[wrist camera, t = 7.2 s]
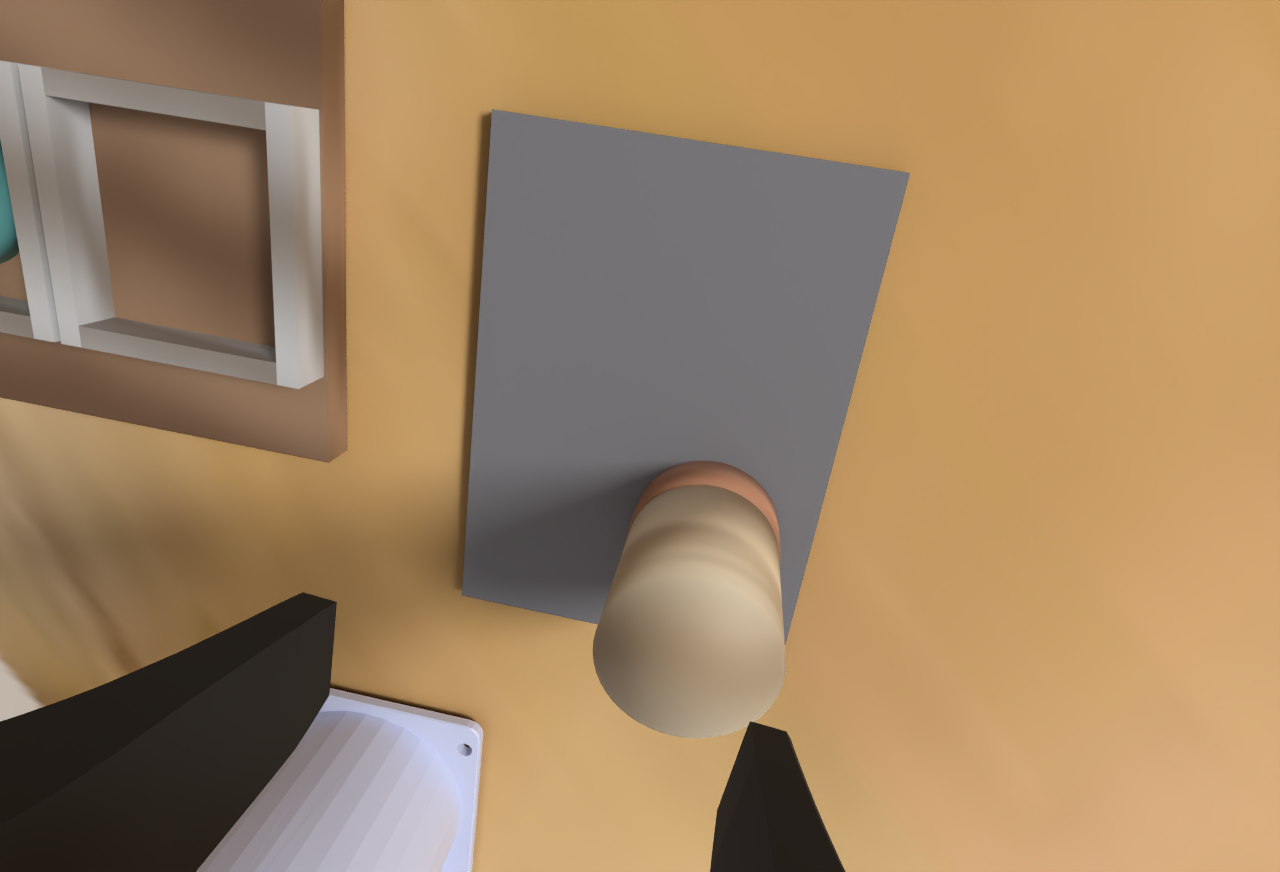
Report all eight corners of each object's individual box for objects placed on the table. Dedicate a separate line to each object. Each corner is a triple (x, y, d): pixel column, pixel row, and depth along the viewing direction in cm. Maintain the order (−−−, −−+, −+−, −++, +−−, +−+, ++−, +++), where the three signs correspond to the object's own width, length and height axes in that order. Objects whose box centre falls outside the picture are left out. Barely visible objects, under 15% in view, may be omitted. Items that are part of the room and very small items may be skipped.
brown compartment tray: (346, 450, 22) (304, 479, 20) (-69, 367, 23) (-148, 387, 21) (344, -4, 17) (289, -26, 15) (-169, -76, 19) (-282, -106, 17)
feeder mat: (779, 654, 22) (780, 662, 22) (466, 588, 23) (461, 595, 23) (906, 172, 17) (909, 173, 17) (497, 110, 18) (491, 109, 17)
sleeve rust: (762, 602, 21) (765, 757, 16) (625, 574, 21) (580, 716, 16) (792, 476, 20) (809, 598, 14) (645, 447, 20) (603, 556, 14)
